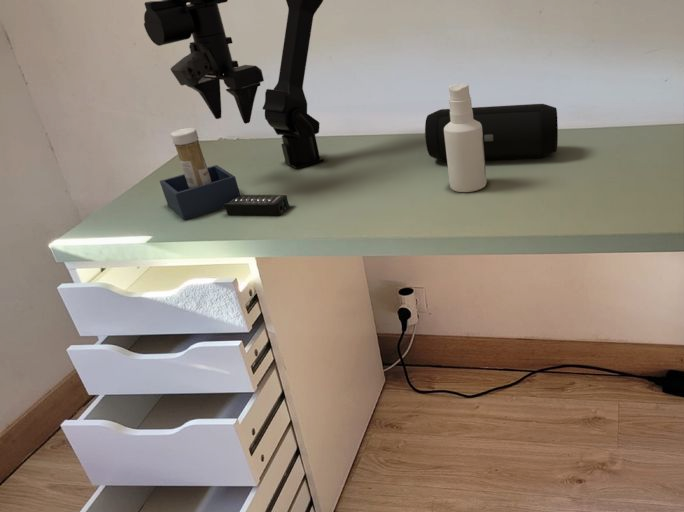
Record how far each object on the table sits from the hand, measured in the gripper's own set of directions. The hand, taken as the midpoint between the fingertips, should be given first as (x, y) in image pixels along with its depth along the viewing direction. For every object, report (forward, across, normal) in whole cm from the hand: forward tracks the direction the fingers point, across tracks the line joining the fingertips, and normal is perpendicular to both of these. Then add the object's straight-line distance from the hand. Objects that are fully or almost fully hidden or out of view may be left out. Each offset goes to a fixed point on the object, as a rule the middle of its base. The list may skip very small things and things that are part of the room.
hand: (232, 120), depth 137 cm
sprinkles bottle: (+13, 0, -10) cm, 16 cm away
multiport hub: (+13, +13, -8) cm, 21 cm away
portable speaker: (+13, +38, +33) cm, 52 cm away
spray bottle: (+13, +43, +18) cm, 48 cm away
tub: (+13, 0, -11) cm, 17 cm away
